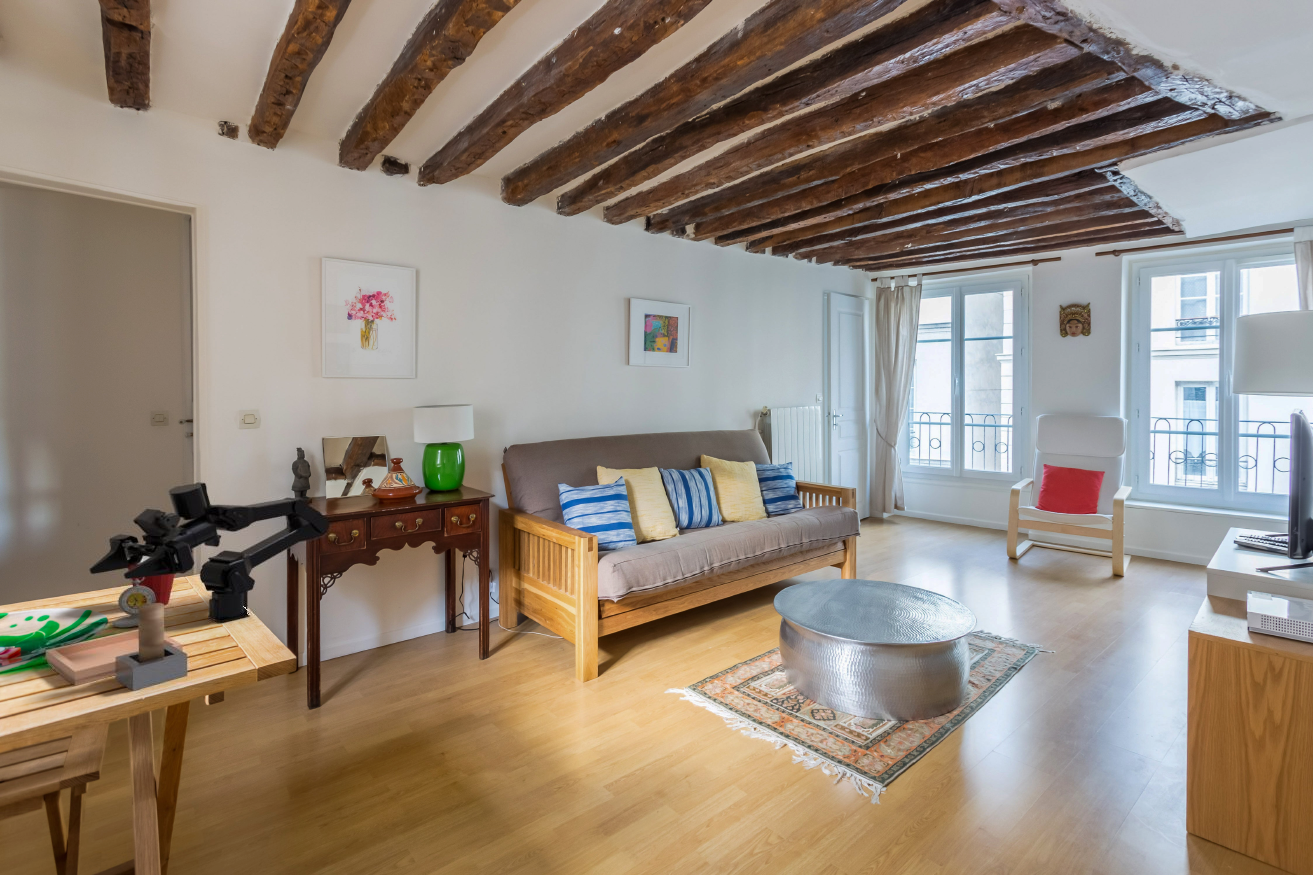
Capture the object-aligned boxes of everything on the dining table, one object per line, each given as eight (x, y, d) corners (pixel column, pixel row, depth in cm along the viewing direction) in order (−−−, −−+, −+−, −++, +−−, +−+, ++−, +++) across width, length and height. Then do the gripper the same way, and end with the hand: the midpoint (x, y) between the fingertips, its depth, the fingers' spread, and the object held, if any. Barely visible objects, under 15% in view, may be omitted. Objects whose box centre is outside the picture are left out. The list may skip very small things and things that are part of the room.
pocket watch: (119, 631, 137) (119, 585, 136) (104, 623, 141) (103, 578, 141) (164, 621, 144) (164, 577, 143) (148, 613, 148) (148, 571, 148)
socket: (168, 664, 121) (168, 643, 121) (187, 675, 116) (187, 653, 116) (115, 678, 114) (115, 656, 114) (133, 690, 110) (132, 668, 110)
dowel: (159, 671, 118) (159, 601, 117) (167, 676, 116) (167, 605, 115) (135, 677, 115) (134, 606, 114) (143, 683, 113) (143, 610, 112)
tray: (149, 638, 133) (149, 626, 133) (182, 657, 124) (182, 644, 124) (46, 663, 120) (45, 649, 120) (75, 685, 111) (74, 671, 111)
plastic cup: (153, 596, 160) (153, 549, 160) (191, 599, 159) (191, 552, 158) (111, 610, 150) (110, 559, 149) (151, 613, 148) (151, 562, 148)
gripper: (141, 499, 137) (59, 531, 123) (208, 505, 132) (130, 540, 117) (157, 546, 140) (78, 582, 126) (222, 554, 135) (148, 593, 121)
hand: (107, 574), depth 122 cm, fingers open, 9 cm apart
